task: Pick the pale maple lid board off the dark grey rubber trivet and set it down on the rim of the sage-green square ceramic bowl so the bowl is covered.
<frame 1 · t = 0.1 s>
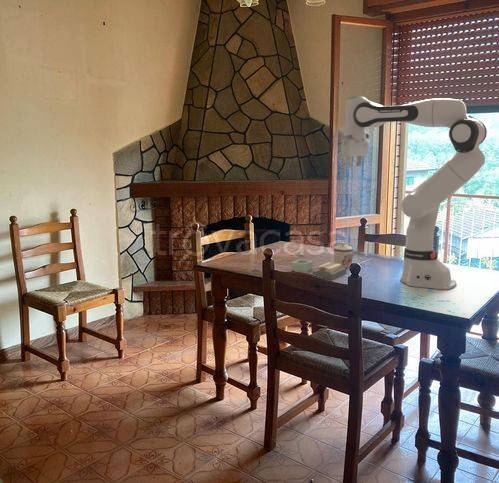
hand: (354, 166, 232), 48 cm above the table, fingers open, 8 cm apart
teacup with lid: (344, 266, 252), on the table
trivet: (329, 275, 235), on the table
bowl: (302, 271, 243), on the table
lid board: (329, 269, 234), point 2 cm above the table, touching trivet
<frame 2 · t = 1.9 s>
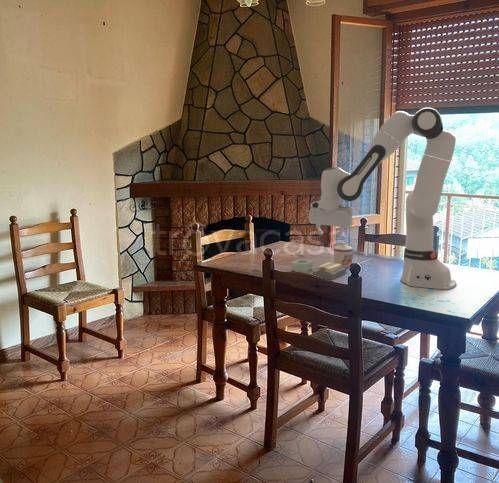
hand: (329, 235, 231), 18 cm above the table, fingers open, 8 cm apart
nothing on the table moved.
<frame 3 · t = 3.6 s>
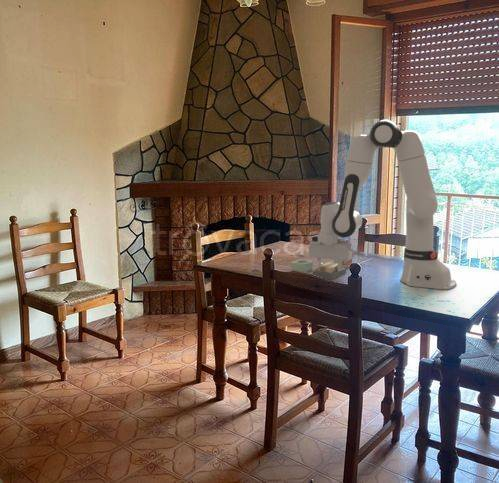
hand: (329, 268, 234), 3 cm above the table, fingers closed on lid board, 6 cm apart
lid board: (329, 269, 234), point 2 cm above the table, touching gripper, trivet
everything else where it was.
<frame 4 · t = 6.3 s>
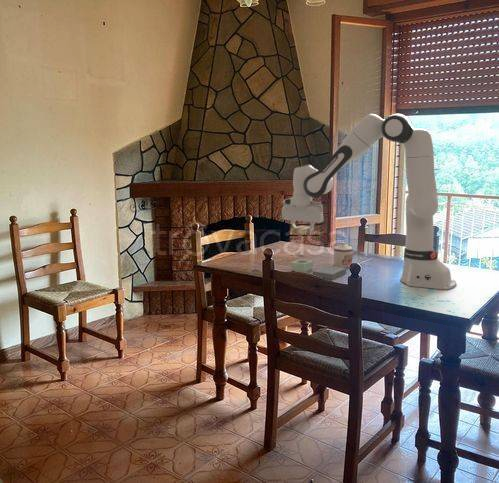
hand: (302, 230, 239), 19 cm above the table, fingers closed on lid board, 6 cm apart
lid board: (302, 232, 239), point 18 cm above the table, touching gripper
everything else where it was.
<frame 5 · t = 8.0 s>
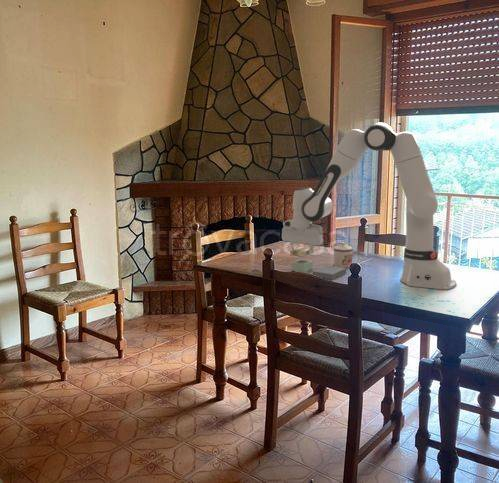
hand: (301, 252, 241), 9 cm above the table, fingers closed on lid board, 6 cm apart
lid board: (301, 253, 241), point 8 cm above the table, touching gripper
everything else where it was.
when the fingers open (6 cm above the table, at t = 9.2 s): lid board stays where it is, resting on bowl.
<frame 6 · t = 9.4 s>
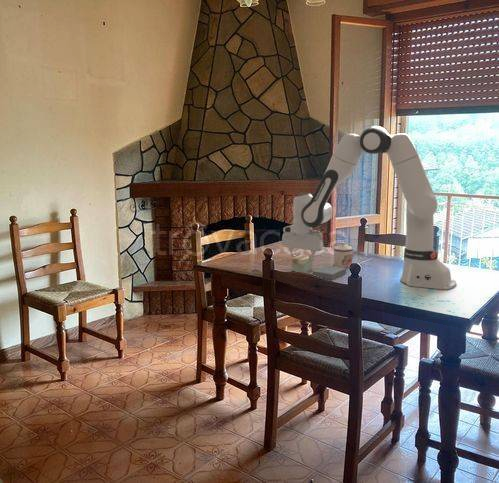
hand: (302, 258, 242), 6 cm above the table, fingers open, 8 cm apart
lid board: (302, 261, 242), point 4 cm above the table, touching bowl
everything else where it was.
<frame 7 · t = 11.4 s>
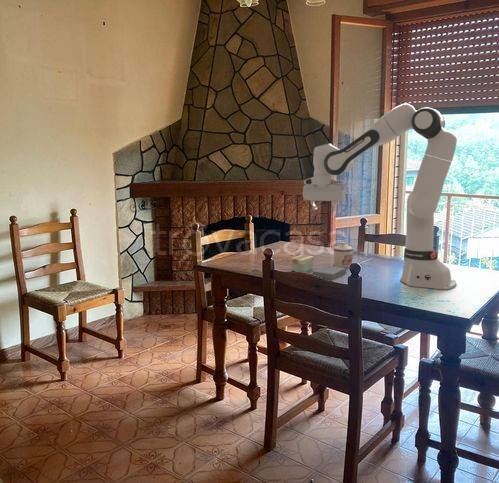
hand: (324, 210, 240), 28 cm above the table, fingers open, 8 cm apart
nothing on the table moved.
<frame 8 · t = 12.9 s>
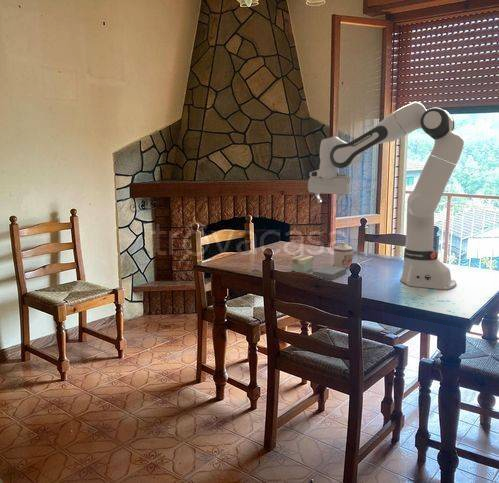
hand: (328, 203, 240), 31 cm above the table, fingers open, 8 cm apart
nothing on the table moved.
at the end: lid board 0.1 cm off-centre on the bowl, point 4.5 cm above the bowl's base; lid board tilted 0°; the gripper is holding nothing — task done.
